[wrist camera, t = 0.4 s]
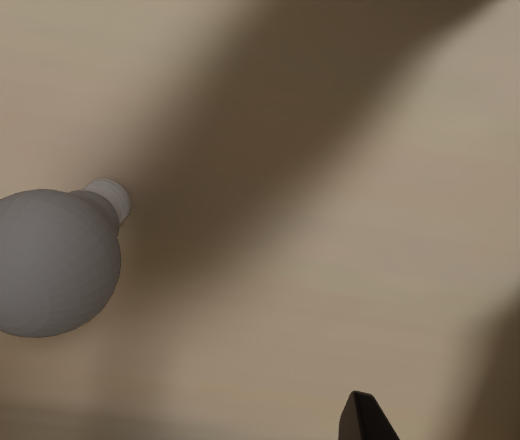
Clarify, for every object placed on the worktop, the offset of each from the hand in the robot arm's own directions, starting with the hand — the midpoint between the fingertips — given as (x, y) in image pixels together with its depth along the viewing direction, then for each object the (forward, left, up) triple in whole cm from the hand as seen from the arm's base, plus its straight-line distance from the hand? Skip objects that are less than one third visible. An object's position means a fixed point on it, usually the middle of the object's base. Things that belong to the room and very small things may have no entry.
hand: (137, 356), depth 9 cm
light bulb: (-3, +7, -15) cm, 17 cm away
